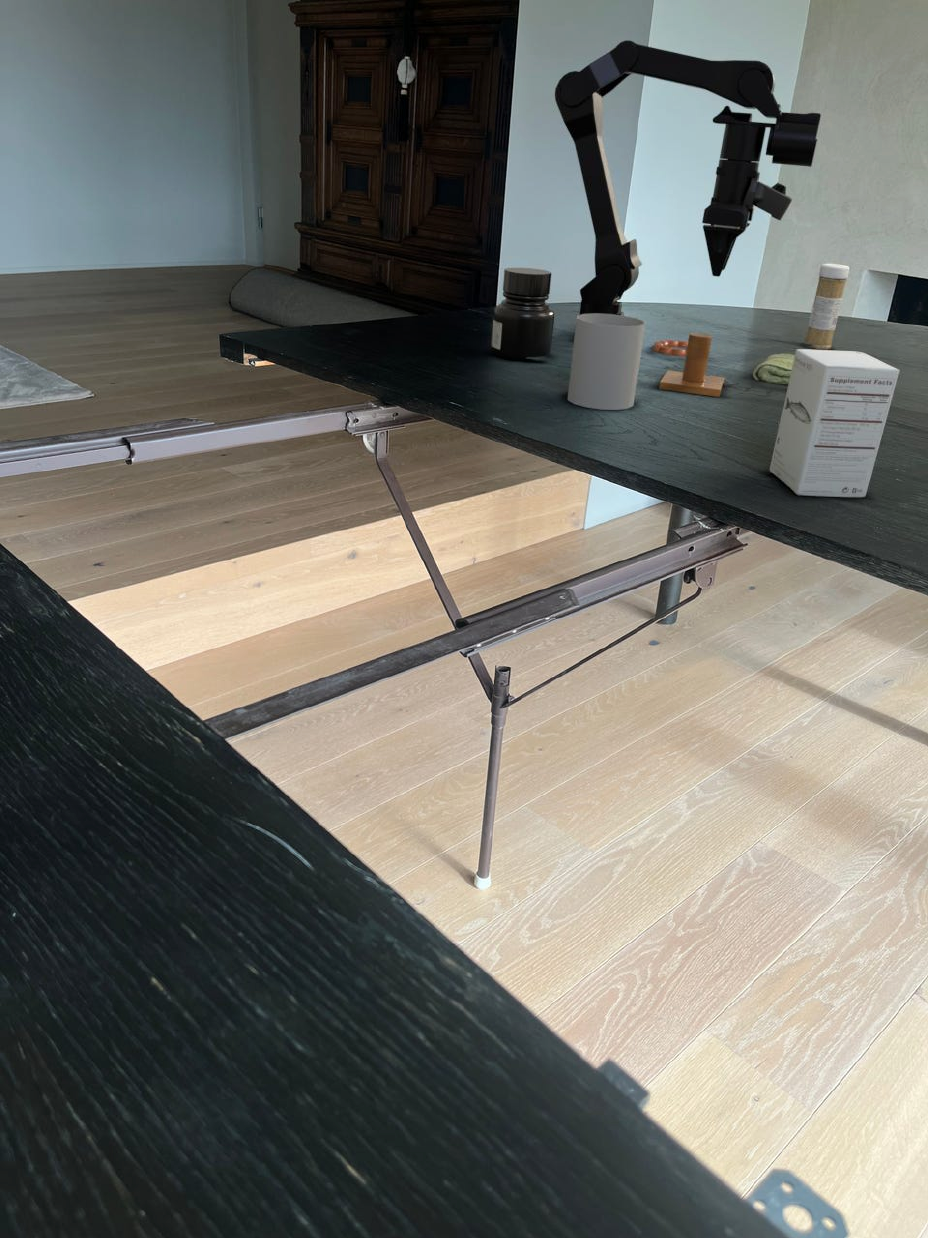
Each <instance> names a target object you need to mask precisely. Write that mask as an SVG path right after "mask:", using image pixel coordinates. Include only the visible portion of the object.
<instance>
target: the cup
mask: <svg viewBox="0 0 928 1238" xmlns="http://www.w3.org/2000/svg"><path fill="white" fill-rule="evenodd" d="M575 320H576V322H575V331H574V339H573V347H572V357H571V365H570V366H571V367H570V374H569V375H570V376H569V382H568V383H569V384H568V390H567V391H568V393H567V401H568V402H570V403H572V404H574V405H577V406H580V407H584V408H589V409H594V410H600V411H601V410H602V411H619V410H628V409H631V408H632V407H634V405H635V397H636V392H637V391H636V389H637V382H638V377H639V369H640V363H641V356H642V349H643V343H644V335H645V328H646V322H645V320H643V319H639V318H636V317H631V316H627V315H624V316H622V315H613V314H597V313H593V314H582V315H579V314H578V315H576V319H575Z"/></svg>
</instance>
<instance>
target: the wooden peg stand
mask: <svg viewBox="0 0 928 1238" xmlns="http://www.w3.org/2000/svg"><path fill="white" fill-rule="evenodd" d="M712 340H713V336H712V335H711V334H709V333H704V332H690V333H689V334H688V340H687V342H688V346H687V348H686V350H687V352H686V357H684V365H683V371H675V370H667V371H666V372H665V374H664V376H663V377H662V379H661V380H660V382H659V387H658V390H662V391H670V392H679V393H686V394H692V395H701V396H708V397H715V398H720V397H721V393H722V391H723V387H724V382H725V379H726V378H725V377H724V376H723V377H722V376H715V375H708V374H707V375H706V373H707V367H708V362H709V356H710V353H709V351H710V350H711V346H712V345H711V344H712Z"/></svg>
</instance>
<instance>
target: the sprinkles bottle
mask: <svg viewBox="0 0 928 1238" xmlns="http://www.w3.org/2000/svg"><path fill="white" fill-rule="evenodd" d="M849 273H850V267H849V266H848V265H844V264H838V263H822V264H821V265H820V268H819V272H818V282H817V287H816V290H815V296H814V300H813V304H812V308H811V311H810V316H809V321H808V324H807V325H808V328H807V331H806V336H805V341H804V342H803V344H804V345H805V344H806V345H811V349H812V350H831V348H832V343H833V338H834V332H835V330H836V326H837V323H838V318H839V314H840V310H841V305H842V301H843V295H844V289H845V285H846V282H847V279H848V277H849Z"/></svg>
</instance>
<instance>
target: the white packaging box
mask: <svg viewBox="0 0 928 1238" xmlns="http://www.w3.org/2000/svg"><path fill="white" fill-rule="evenodd" d="M794 353H795V354H794V355H795V357H794V362H793V366H792V371H791V376H790V380H789V385H787V388H786V389H787V390H786V394H785V399H784V403H783V407H782V413H781V416H780V420H779V425H778V430H777V433H776V434H777V435H776V438H775V443H774V448H773V453H772V457H771V461H770V466H769V472H770V473H772V474H773V475H775V476H776V477H777V478H778V479H779V480H781V482H783V483H784V484H785V486H787V487H789V488H790V490H792V491H793V493H794V494H796V496H803V497H805V496H806V497H831V498H832V497H833V498H865V497H866V495H867V492H868V488H869V484H870V481H871V477H872V474H873V470H874V467H875V462H876V459H877V456H878V451H879V448H880V444H881V440H882V437H883V433H884V430H885V429H884V428H885V426H886V422H887V419H888V414H889V412H890V407H891V404H892V401H893V397H894V393H895V390H896V386H897V382H898V379H899V378H898V377H899V374H900V369H899V368H896V367H894V366H892V365H890V364H887V363H885V362H883V361H882V360H879V359H877V358H875V357H873V356H871V355H869V354H867V353H865V352H863V351H855V350H835V349H834V350H831V349H828V350H820V349H812V348H811V349H810V348H809V349H808V348H804V349H803V348H798V349H795V352H794Z"/></svg>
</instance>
